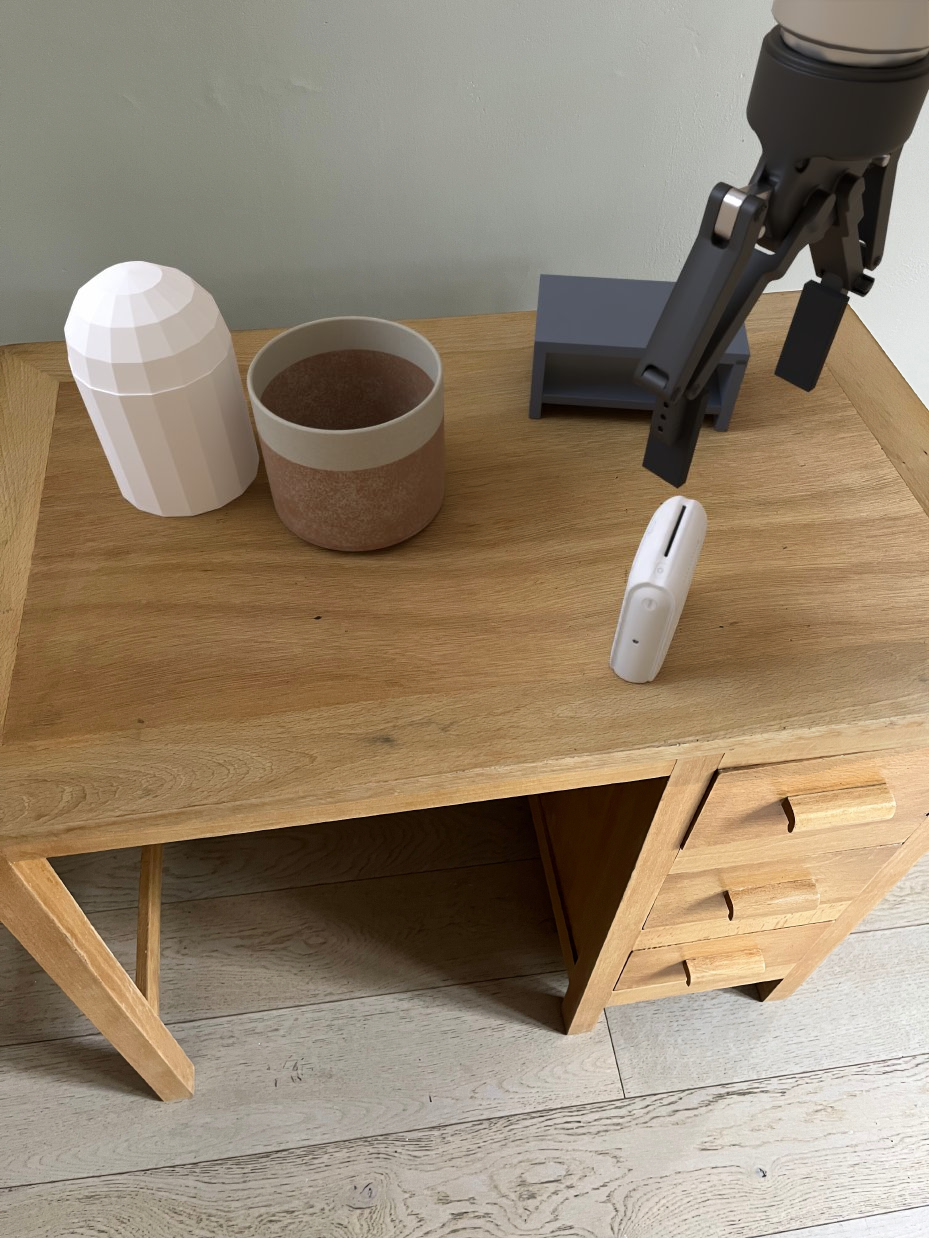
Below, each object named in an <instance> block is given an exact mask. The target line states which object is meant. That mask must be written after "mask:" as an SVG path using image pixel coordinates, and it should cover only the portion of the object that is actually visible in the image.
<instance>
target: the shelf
mask: <svg viewBox="0 0 929 1238" xmlns="http://www.w3.org/2000/svg"><path fill="white" fill-rule="evenodd" d="M675 283H676V281H668V280H652V279H651V280H649V279H633V278H617V277H616V278H615V277H599V276H581V275H579V276H578V275H563V274H549V273H548V274H547V273H545V274H544V273H540V274H539V282H538V284H539V285H538V292H537V293H538V294H537V305H536V306H537V307H536V319H535V331H534V339H533V340H534V342H533V355H532V367H531V379H530V390H529V391H530V393H529V405H528V419H535V420H536V419H537V420H540V419H541V414H542V404H554V405H568V406H581V407H598V408H613V409H626V410H627V409H629V410H643V411H644V410H645V411H653V410H654V405H655V401H656V395H654V394H653V393H651V392H649V391H647V390H646V389H644V388H642V387H641V386H639V385H637V384H636V383H634V382H633V375H634V372H635V370H636V368H637V366H638V364H639V361H640V359H641V357H642V355H643V353H644V351H645V348H646V346H647V344H648V342H649V340H650V338H651V335H652V333H653V331H654V329H655V327H656V325H657V322H658V320H659V318H660V316H661V314H662V312H663V309H664V307H665V305H666V303H667V301H668V299H669V296H670V294H671V292H672V290H673V288H674V285H675ZM745 322H746V321H744V323H743V325H742V326H741V328H740V329H739V331H738V333H737V334H736V336H735V337H734V339H733V341H732V342H731V344H730V345H729V347H728V348H727V350H726V352H725V353H724V355H723V356H722V358H721V360H720V361H719V363H718V364H717V366H716V368H715V369H714V371H713V372H712V374H711V376H710V377H709V379H708V380H707V382H706V383H705V385H704V387H705V388H706V389H708V390H710V391H711V393H710V397H709V400H708V404H707V407H706V411H705V415H712V418H713V424H714V425H713V426H714V431H715V432H728V429H729V426H730V422H731V419H732V416H733V413H734V410H735V407H736V404H737V401H738V396H739V393H740V390H741V388H742V387H741V386H742V385H743V384H742V383H743V380H744V378H745V374H746V371H747V367H748V364H749V361H750V358H751V349H750V344H749V338H748V333H747V329H746V323H745Z"/></svg>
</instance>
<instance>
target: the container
mask: <svg viewBox="0 0 929 1238" xmlns="http://www.w3.org/2000/svg"><path fill="white" fill-rule="evenodd" d="M63 331H64V336H65V344H66V349H67V359H68V364H69V366H70V367H69V368H70V370H71V374H72V376H73V379H74V381H75V384H76V386H77V388H78V391H79V393H80V396H81V398H82V401H83V403H84V405H85V408H86V411H87V412H88V416H89V418H90V420H91V422H92V425H93V427H94V430H95V433H96V434H97V437H98V439H99V443H100V445H101V447H102V449H103V451H104V455H105V456H106V459H107V461H108V464H109V466H110V469H111V471H112V473H113V476H114V479H115V481H116V483H117V486H118V488H119V491H120V493H121V495H122V497H123V498H124V499H125V500H127V501H128V502H129V503H130V504H131V505H132V506H134V507H135V508H136V509H137V510H139V511H142V512H145V513H149V514H151V515H155V516H159V517H163V518H166V517H167V518H169V517H194V516H198V515H200V514H205V513H208V512H210V511H214V510H218V509H221V508H222V507H224V506H225V505H227V504H229V503H230V502H233V501H234V500H235V499H237V498H238V497H240V496H241V495H243V494H244V493H245V492H246V491H247V489H248V488H249V486H250V485H251V484H252V483H253V481H254V480H255V479H256V478H257V474H258V469H259V462H260V456H259V450H258V446H257V443H256V438H255V432H254V429H253V425H252V421H251V417H250V416H251V415H250V412H249V408H248V404H247V400H246V395H245V391H244V386H243V382H242V378H241V373H240V368H239V366H238V361H237V356H236V352H235V348H234V344H233V340H232V333H231V332H230V330H229V327H228V326H227V323H226V322H225V319H224V317H223V315H222V313H221V311H220V309H219V307H218V305H217V303H216V302H215V299H214V296H213V295H212V294H211V293H210V292H208V291H207V290H206V289H205V288H204V287H203V286H202V285H200V284H199V283H198V282H196V281H195V280H194V279H193V278H192V277H191V276H190V275H187V274H186V273H184V272H183V271H182V270H180V269H178V268H177V267H176V268H175V267H170V266H166V265H162V264H157V263H152V262H148V261H143V260H137V261H136V260H132V261H131V260H130V261H129V260H128V261H125V262H119V263H116V264H114V265H111V266H109V267H107V268H105V269H104V270H102V271H100V272H99V273H98V274H96V275H95V276H93V277H92V278H91V279H90V280H89V281H87V282H86V283H85V284H83V285H82V286H81V287H80V288H79V289H78V290H77V292H76V294H75V297H74V298H73V301H72V304H71V307H70V309H69V312H68V316H67V319H66V322H65V324H64V327H63Z"/></svg>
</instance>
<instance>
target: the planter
mask: <svg viewBox="0 0 929 1238" xmlns="http://www.w3.org/2000/svg"><path fill="white" fill-rule="evenodd" d="M444 381H445V380H444V365H443V361H442V358H441V355H440V353H439V351H438V350H437V348H436V347H435V346H434V345H433V344H432V342H431V341H430V340H428V339H427V338H426V337H425V336H423V335H422V334H421V333H419V332H418V331H416V330H414V329H413V328H410V327H409V326H406V325H404V324H401V323H399V322H396V321H392V320H388V319H384V318H379V317H371V316H361V315H360V316H359V315H357V316H356V315H349V316H348V315H347V316H332V317H325V318H321V319H316V320H313V321H309V322H305V323H302V324H299V325H297V326H293V327H292V328H289V329H287V330H285V331H283V332H281V333H280V334H277V336H275V337H273V338H272V339H270V340H269V341H268V342H267V343H266V344H264V345H263V346H262V347H261V348H260V350H258V351H257V353H256V354H255V356H254V357H253V359H252V361H251V362H250V364H249V367H248V370H247V375H246V386H247V391H248V396H249V401H250V403H251V408H252V409H251V410H252V413H253V418H254V423H255V426H256V431H257V434H258V440H259V444H260V448H261V452H262V456H263V461H264V465H265V469H266V470H265V471H266V475H267V478H268V482H269V487H270V492H271V496H272V500H273V504H274V505H273V506H274V508H275V511H276V513H277V515H278V517H279V519H280V520H281V522H282V523H283V524H284V525H285V527H287V528H288V530H289V531H291V532H292V533H293V534H295V535H296V536H297V537H298V538H300V539H302V540H304V541H306V542H308V543H310V544H312V545H315V546H318V547H321V548H325V549H329V550H334V551H342V552H366V551H374V550H380V549H384V548H388V547H391V546H393V545H396V544H399V543H401V542H404V541H405V540H408V539H410V538H411V537H414V536H415V535H417V534H418V533H419V532H420V531H422V530H423V529H425V528H426V527H427V526H428V525H429V524H430V523H431V522H432V521H433V520H434V519H435V517H436V516H437V514H438V513H439V511H440V509H441V508H442V505H443V502H444V499H445V496H446V450H445V449H446V448H445V447H446V446H445V445H446V444H445V443H446V442H445V389H444V385H445V384H444Z"/></svg>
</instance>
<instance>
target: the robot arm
mask: <svg viewBox="0 0 929 1238" xmlns="http://www.w3.org/2000/svg"><path fill="white" fill-rule="evenodd" d="M770 11H771V14H772V18H773V19H774V21H775V22H776V23H777V24H775V26H773V27H772V28H771V29H770V31H768V32H767V33H766V34H765V35H764V37H763V38H762V41H761V45H760V50H759V55H758V59H757V63H756V65H755V66H756V67H755V71H754V75H753V79H752V83H751V88H750V92H749V96H748V99H747V103H746V109H745V116H746V120H747V123H748V126H749V127H750V129H751V130H752V131H753V132H754V133H755V135H756V137H757V139H758V140H759V143H760V146H761V154H760V156H759V158H758V161H757V165H756V166H755V169H754V171H753V173H752V175H751V177H750V179H749V181H748V183H747V185H746V186H742V187H739V188H738V187H736V186H734V185H731V184H729V183H726V182H724V181H719V182H717V183H716V184H715V185H714V186H713V187H712V188H711V191H710V192H709V195H708V198H707V202H706V205H705V208H704V212H703V216H702V219H701V223H700V226H699V228H698V229H699V230H698V233H697V236H696V238H695V239H694V242H693V244H692V246H691V249H690V251H689V253H688V255H687V258H686V259H685V262H684V264H683V266H682V268H681V271H680V272H679V275H678V276H677V279H676V281H675V282H676V283H675V285H674V288H673V290H672V292H671V294H670V296H669V299H668V301H667V303H666V305H665V307H664V309H663V312H662V314H661V316H660V318H659V320H658V322H657V325H656V327H655V329H654V331H653V333H652V335H651V338H650V340H649V342H648V344H647V346H646V348H645V351H644V353H643V355H642V357H641V359H640V361H639V364H638V366H637V368H636V370H635V372H634V375H633V382H634V383H636V384H637V385H639V386H641V387H642V388H644V389H646V390H647V391H649V392H651V393H653V394H654V395H656V401H655V405H654V410H652V415H651V420H650V424H649V432H648V437H647V441H646V446H645V451H644V455H643V459H642V463H641V464H642V465H641V467H642V468H644V469H645V470H647V471H649V472H650V473H652V474H653V475H655V476H657V477H658V478H660V479H661V480H663V481H665V483H667V484H669V485H670V486H672V487H674V488H675V489H677V490H679V488H681V487H682V486H683V485H685V484H686V483H687V480H688V475H689V472H690V470H691V469H690V468H691V466H692V465H691V464H692V462H693V458H694V454H695V450H696V447H697V444H698V440H699V436H700V432H701V428H702V426H703V421H704V418H705V415H706V414H705V411H706V407H707V404H708V400H709V397H710V393H711V391H710V390H708V389H706V388H705V387H704V385H705V383H706V382H707V380H708V379H709V377H710V376H711V374H712V372H713V371H714V369H715V368H716V366H717V364H718V363H719V361H720V360H721V358H722V356H723V355H724V353H725V352H726V350H727V348H728V347H729V345H730V344H731V342H732V341H733V339H734V337H735V336H736V334H737V333H738V331H739V329H740V328H741V326H742V325H743V323H744V322H746V320H747V319H748V317H749V315H750V314H751V312H752V310H753V309H754V307H755V306H756V304H757V303H758V301H759V299H760V298H761V296H762V295H763V293H764V291H765V289H766V288H767V286H768V285H769V284H770V283H771V282H774V281H779V280H780V279H783V278H784V276H785V275H786V274H787V272H788V271H789V269H790V268H791V266H792V264H793V263H794V261H795V260H796V258H797V257H798V255H799V253H800V252H801V251H802V250H803V249H805V248H806V247H807V246H808V247H809V252H810V257H811V261H812V265H813V269H814V273H815V274H814V275H815V276H816V277H817V278H819V279H820V282H818V281H816V280H813V279H809V280H808V281H806V282H804V284H803V287H802V289H801V292H800V296H799V298H798V302H797V304H796V307H795V310H794V313H793V316H792V319H791V322H790V325H789V328H788V331H787V334H786V336H785V339H784V343H783V345H782V348H781V351H780V353H779V354H780V355H779V357H778V361H777V362H776V367H775V369H774V372H773V375H774V376H776V377H778V378H780V379H781V380H783V381H785V382H787V383H788V384H791V385H793V386H795V387H797V388H799V389H801V390H802V391H804V392H806V393H807V394H808V393H811V391H813V390H814V389H816V386H817V384H818V382H819V379H820V376H821V374H822V371H823V368H824V366H825V364H826V361H827V358H828V355H829V353H830V351H831V348H832V345H833V342H834V340H835V338H836V335H837V332H838V330H839V328H840V325H841V323H842V319H843V317H844V314H845V312H846V309H847V307H848V304H849V302H850V299H851V296H850V295H849V296H848V294H849V292H850V293H852V294H854V295H856V296H858V297H861V298H865V297H866V296H867V295H868V294H869V293H870V291H871V290H872V288H873V286H874V285H875V280H876V278H875V277H873V276H871V275H869V274H866V273H864V271H865V269H866V270H868V271H870V272H873V271H875V270H876V269H877V268H878V267H879V266H880V264H881V263H882V260H883V257H884V253H885V247H886V241H887V234H888V229H889V222H890V215H891V209H892V202H893V197H894V190H895V183H896V177H897V170H898V166H899V165H898V164H899V161H900V158H901V155H902V152H903V149H904V146H905V144H906V143H907V141H908V140H909V139H910V137H911V136H912V134H913V132H914V129H915V127H916V125H917V121H918V118H919V116H920V114H921V111H922V108H923V106H924V104H925V101H926V98H927V95H928V93H929V0H773V1H772V5H771V9H770ZM756 245H758V247H761V248H762V249H765V250H767V251H769V252H771V254H770V253H767V252H765V251H763V250H760V249H758V248H756Z"/></svg>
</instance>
